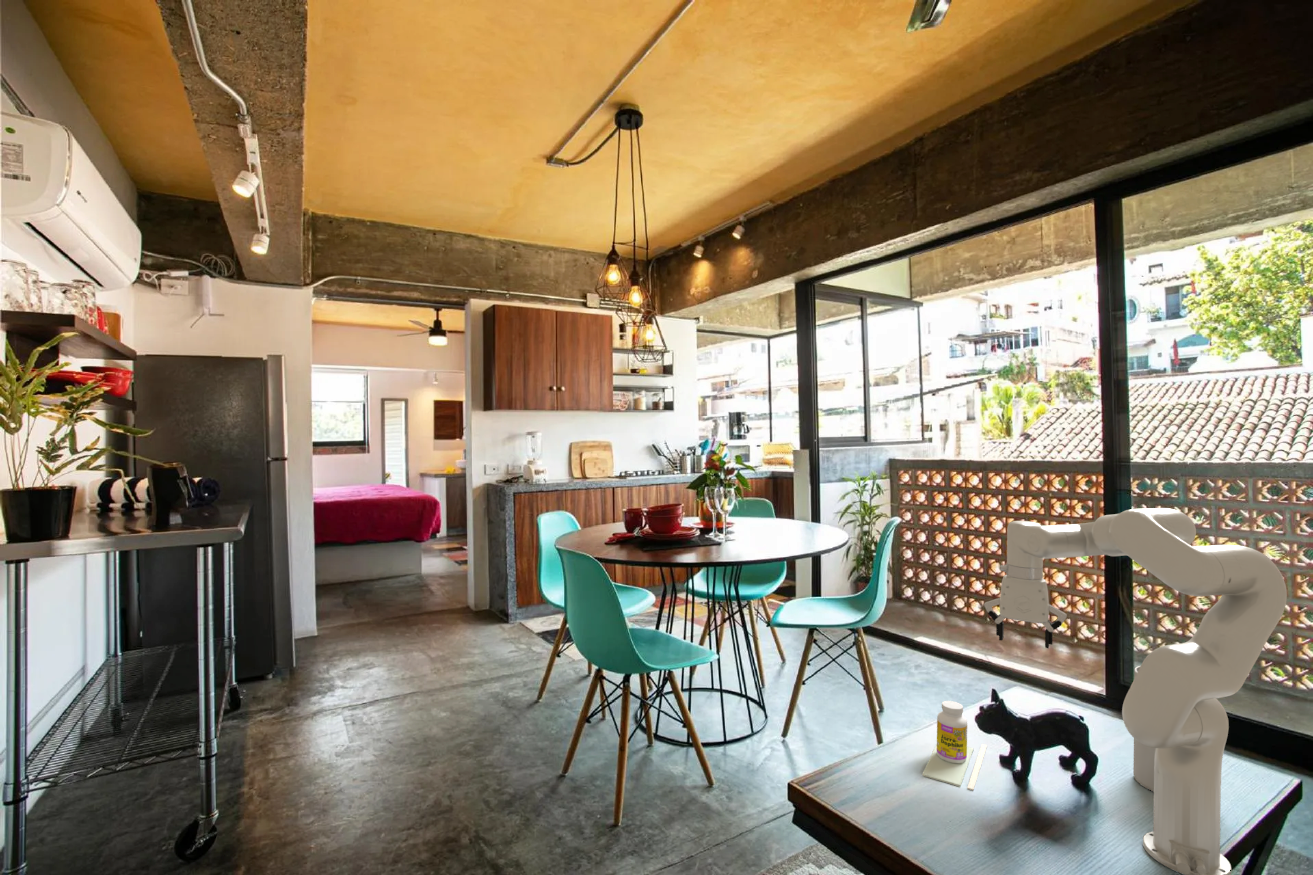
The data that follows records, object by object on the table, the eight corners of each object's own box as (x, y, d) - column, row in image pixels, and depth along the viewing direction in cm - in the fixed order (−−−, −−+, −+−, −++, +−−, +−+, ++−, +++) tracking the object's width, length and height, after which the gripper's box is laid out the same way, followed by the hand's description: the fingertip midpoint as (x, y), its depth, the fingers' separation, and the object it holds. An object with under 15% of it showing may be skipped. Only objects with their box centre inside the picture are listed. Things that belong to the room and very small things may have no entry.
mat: (960, 786, 140) (960, 784, 140) (922, 775, 145) (922, 773, 145) (973, 749, 157) (973, 748, 157) (938, 740, 161) (938, 739, 161)
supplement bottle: (935, 760, 151) (936, 706, 151) (937, 748, 157) (937, 696, 157) (966, 767, 148) (967, 712, 148) (967, 754, 154) (967, 702, 154)
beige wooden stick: (973, 790, 139) (973, 789, 139) (967, 788, 140) (967, 787, 140) (987, 746, 159) (987, 744, 159) (981, 744, 159) (981, 743, 159)
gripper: (982, 570, 154) (981, 640, 154) (1066, 580, 144) (1065, 654, 144) (986, 565, 160) (985, 632, 160) (1067, 574, 151) (1066, 645, 151)
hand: (1023, 642), depth 152 cm, fingers open, 9 cm apart
